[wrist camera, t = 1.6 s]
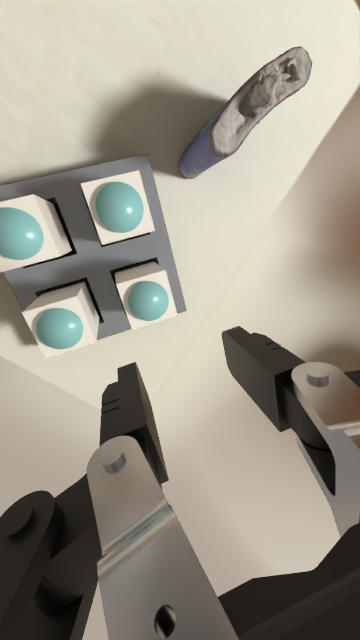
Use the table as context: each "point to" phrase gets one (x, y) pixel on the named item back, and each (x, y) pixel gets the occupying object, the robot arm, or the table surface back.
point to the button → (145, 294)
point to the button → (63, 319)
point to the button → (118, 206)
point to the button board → (93, 242)
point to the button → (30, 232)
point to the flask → (246, 111)
